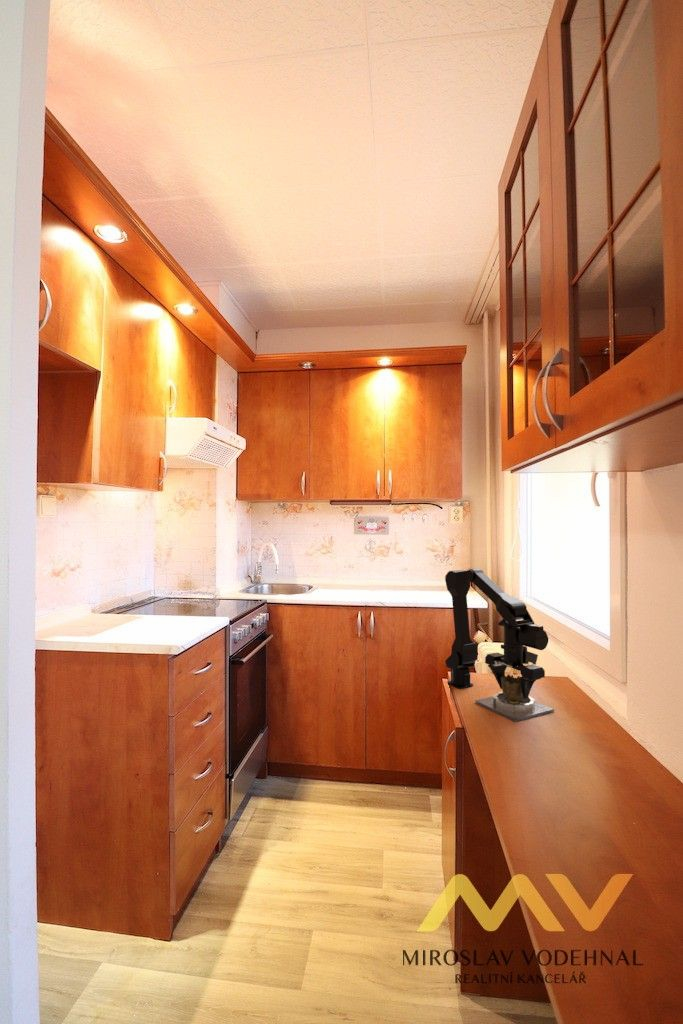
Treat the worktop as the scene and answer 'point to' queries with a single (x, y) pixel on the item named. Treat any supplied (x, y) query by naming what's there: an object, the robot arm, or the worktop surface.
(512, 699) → the cup
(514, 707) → the cup bracket
